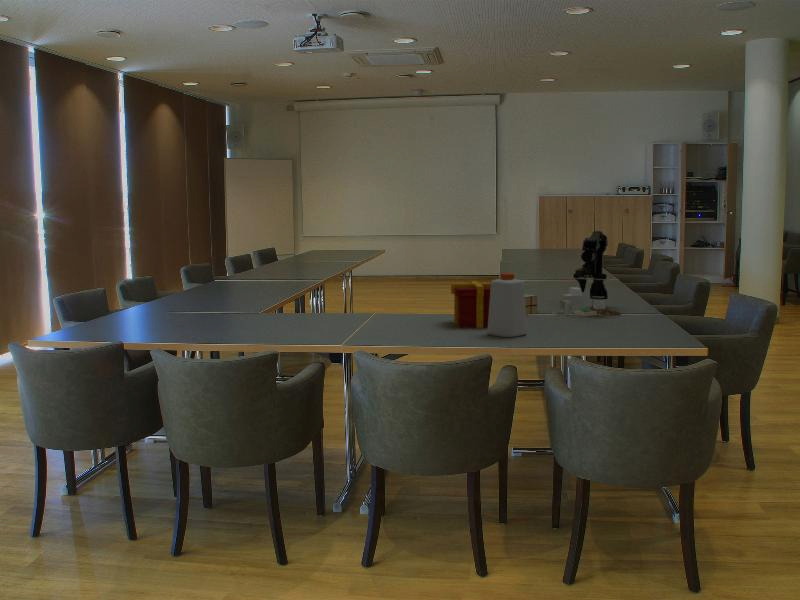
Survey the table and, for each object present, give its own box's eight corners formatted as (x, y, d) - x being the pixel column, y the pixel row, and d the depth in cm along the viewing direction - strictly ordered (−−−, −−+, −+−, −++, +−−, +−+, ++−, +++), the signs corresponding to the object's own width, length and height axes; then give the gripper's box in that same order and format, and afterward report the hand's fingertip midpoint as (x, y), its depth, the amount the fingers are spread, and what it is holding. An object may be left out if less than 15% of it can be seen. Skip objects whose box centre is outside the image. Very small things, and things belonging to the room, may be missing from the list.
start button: (580, 312, 414) (580, 307, 414) (586, 312, 416) (586, 306, 415) (584, 313, 411) (584, 308, 410) (591, 313, 412) (591, 307, 412)
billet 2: (592, 312, 422) (593, 298, 421) (600, 311, 424) (600, 298, 423) (598, 313, 418) (598, 299, 417) (605, 312, 419) (605, 299, 418)
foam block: (560, 301, 480) (560, 287, 479) (577, 300, 480) (577, 287, 479) (564, 303, 470) (564, 289, 469) (581, 303, 471) (582, 289, 470)
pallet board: (586, 314, 423) (586, 309, 423) (601, 312, 427) (601, 307, 426) (606, 318, 407) (606, 313, 406) (622, 317, 410) (623, 312, 410)
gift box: (506, 328, 382) (506, 286, 379) (454, 329, 380) (454, 286, 378) (497, 320, 406) (497, 280, 404) (448, 320, 405) (448, 281, 402)
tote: (551, 314, 423) (551, 312, 422) (568, 313, 427) (568, 311, 426) (562, 317, 412) (562, 315, 412) (580, 315, 417) (580, 313, 416)
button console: (574, 316, 416) (574, 310, 415) (587, 315, 419) (587, 309, 418) (583, 318, 408) (583, 312, 408) (596, 317, 411) (596, 311, 411)
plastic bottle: (505, 330, 374) (506, 271, 370) (530, 334, 363) (531, 273, 359) (483, 334, 364) (483, 273, 361) (508, 338, 353) (508, 276, 349)
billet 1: (559, 313, 421) (560, 300, 420) (567, 313, 422) (567, 300, 421) (564, 314, 417) (564, 301, 416) (571, 314, 418) (572, 301, 417)
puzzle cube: (510, 313, 427) (510, 295, 426) (524, 312, 433) (524, 293, 432) (524, 316, 419) (524, 297, 418) (537, 314, 425) (537, 295, 424)
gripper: (566, 261, 414) (565, 291, 414) (591, 262, 398) (590, 293, 398) (582, 262, 419) (580, 292, 420) (607, 262, 403) (606, 293, 404)
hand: (589, 292), depth 410 cm, fingers open, 9 cm apart
